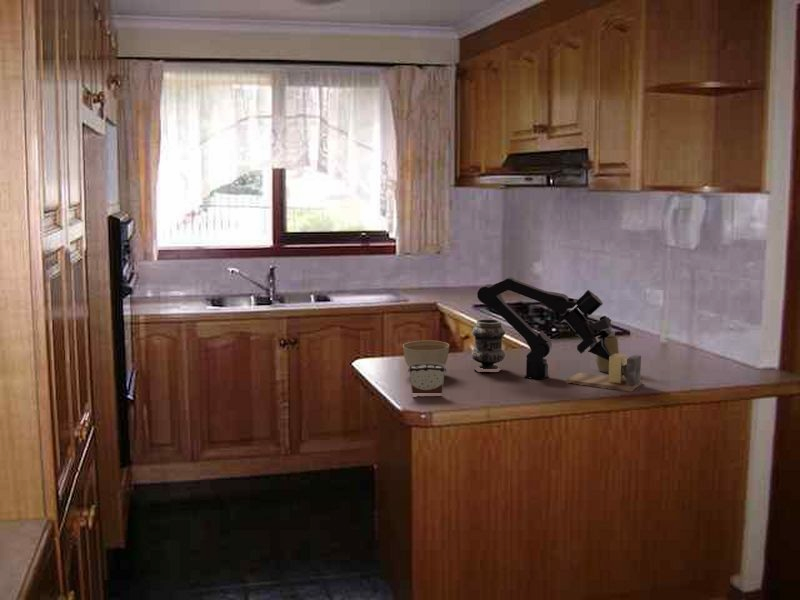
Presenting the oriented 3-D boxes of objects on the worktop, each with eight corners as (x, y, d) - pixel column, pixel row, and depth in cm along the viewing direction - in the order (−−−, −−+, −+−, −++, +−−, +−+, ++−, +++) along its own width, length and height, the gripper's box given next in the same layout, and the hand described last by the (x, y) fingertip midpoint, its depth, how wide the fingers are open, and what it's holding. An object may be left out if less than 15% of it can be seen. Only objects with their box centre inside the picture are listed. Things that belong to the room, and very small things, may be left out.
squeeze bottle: (602, 374, 301) (603, 323, 298) (591, 369, 309) (592, 319, 306) (623, 372, 303) (624, 322, 300) (611, 367, 311) (613, 318, 308)
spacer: (608, 382, 284) (609, 356, 283) (614, 378, 289) (615, 353, 288) (620, 383, 282) (621, 357, 281) (626, 379, 287) (627, 354, 286)
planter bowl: (397, 372, 306) (396, 342, 305) (439, 368, 311) (439, 339, 310) (411, 382, 291) (411, 351, 290) (456, 379, 296) (456, 347, 294)
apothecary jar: (503, 374, 301) (503, 324, 299) (469, 373, 304) (469, 323, 301) (506, 367, 313) (506, 318, 310) (473, 365, 316) (473, 317, 313)
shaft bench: (566, 383, 289) (566, 353, 287) (578, 375, 299) (579, 347, 297) (631, 391, 277) (632, 361, 276) (642, 383, 287) (643, 354, 286)
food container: (445, 391, 279) (445, 361, 278) (446, 396, 273) (446, 365, 272) (406, 392, 279) (406, 362, 277) (407, 397, 273) (407, 366, 271)
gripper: (587, 313, 278) (619, 350, 274) (605, 305, 294) (637, 339, 290) (563, 335, 284) (595, 371, 279) (583, 325, 299) (613, 360, 295)
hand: (611, 360), depth 286 cm, fingers closed, pressing on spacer
